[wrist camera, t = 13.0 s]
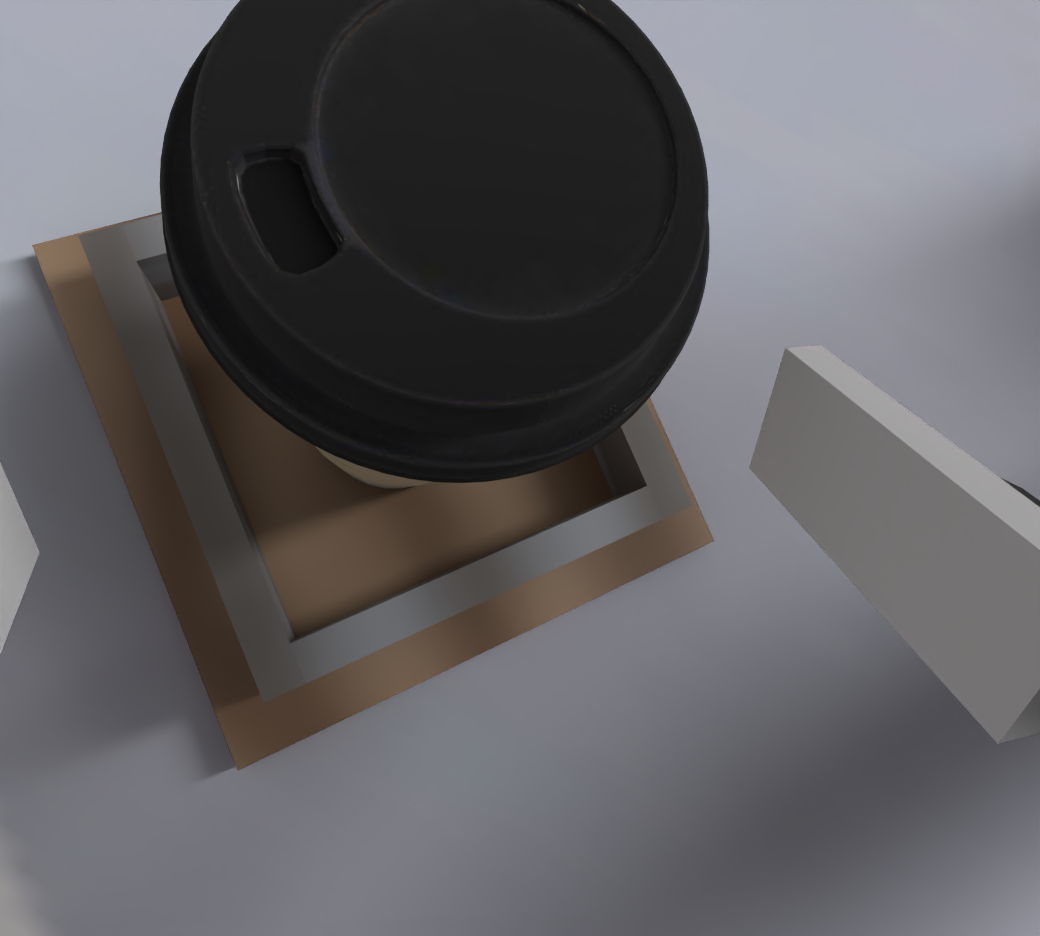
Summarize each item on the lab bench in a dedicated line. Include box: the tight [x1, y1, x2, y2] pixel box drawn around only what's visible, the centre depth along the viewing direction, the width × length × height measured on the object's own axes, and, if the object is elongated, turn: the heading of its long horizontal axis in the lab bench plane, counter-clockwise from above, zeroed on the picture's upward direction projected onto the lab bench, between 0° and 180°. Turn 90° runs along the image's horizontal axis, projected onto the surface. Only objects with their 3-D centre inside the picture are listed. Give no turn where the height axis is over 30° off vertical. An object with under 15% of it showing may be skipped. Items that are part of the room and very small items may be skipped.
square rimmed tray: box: [32, 212, 714, 770], centre depth 24 cm, size 18×18×4 cm
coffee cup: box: [160, 0, 709, 489], centre depth 18 cm, size 9×9×15 cm
